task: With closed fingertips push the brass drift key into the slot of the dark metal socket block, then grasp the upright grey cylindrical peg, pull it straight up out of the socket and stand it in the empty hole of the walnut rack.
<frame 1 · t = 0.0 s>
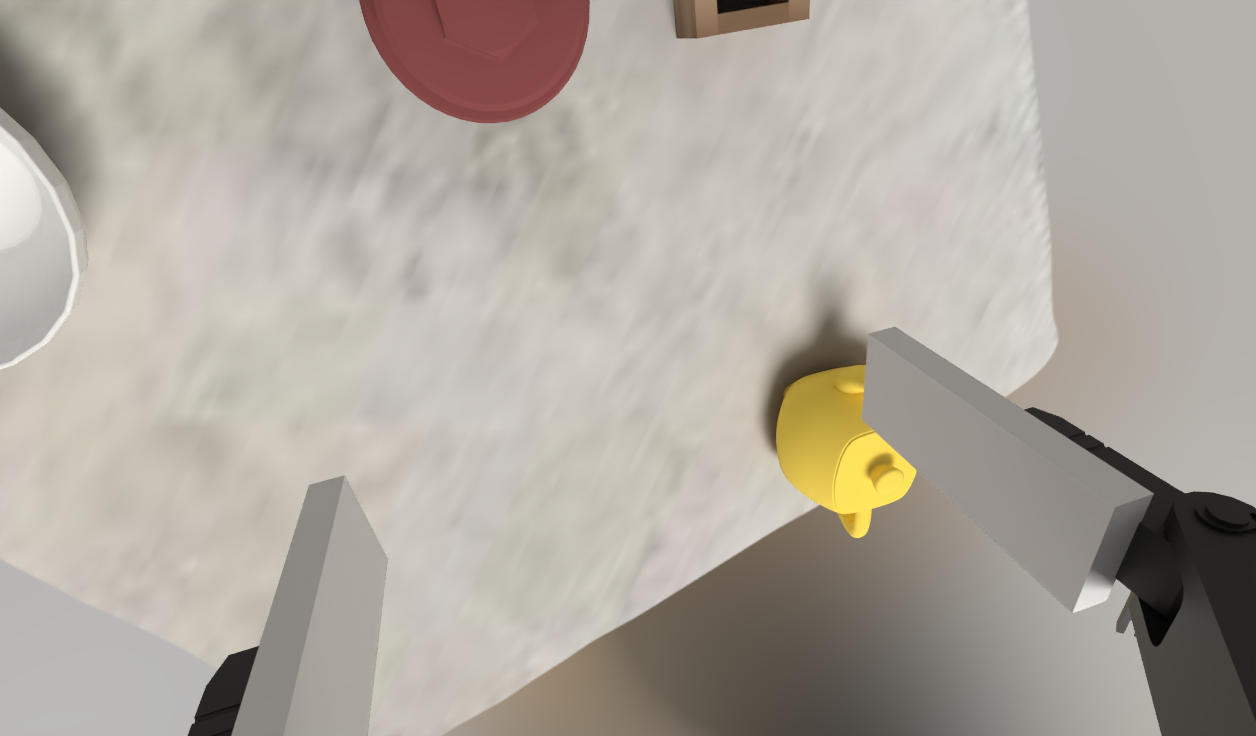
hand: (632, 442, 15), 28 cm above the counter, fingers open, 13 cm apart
teapot: (816, 402, 54), on the counter
mechanical component: (472, 9, 33), on the counter
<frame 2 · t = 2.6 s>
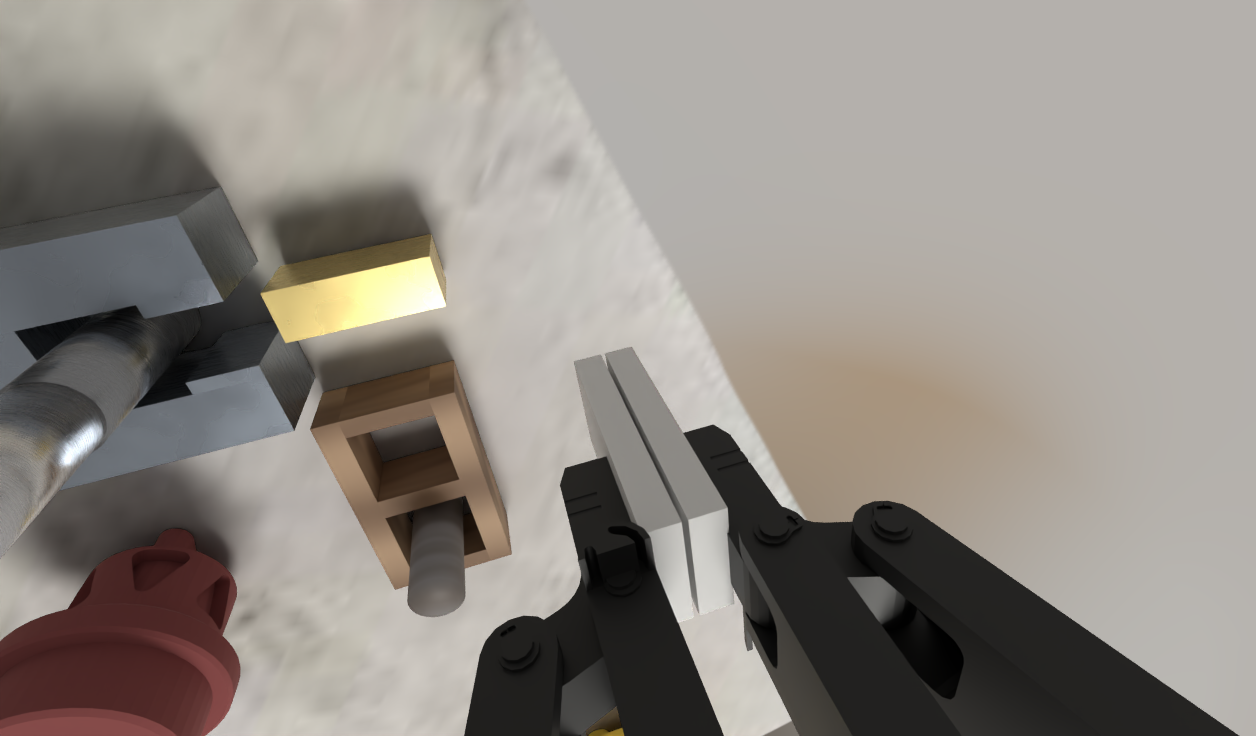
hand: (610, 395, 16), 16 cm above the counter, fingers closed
rack: (424, 460, 35), on the counter
drift key: (362, 285, 27), point 2 cm above the counter, slide at 0.0 cm
socket block: (160, 314, 28), on the counter
grey cylindrical peg: (75, 397, 21), in the socket block
mechanical component: (177, 567, 34), on the counter
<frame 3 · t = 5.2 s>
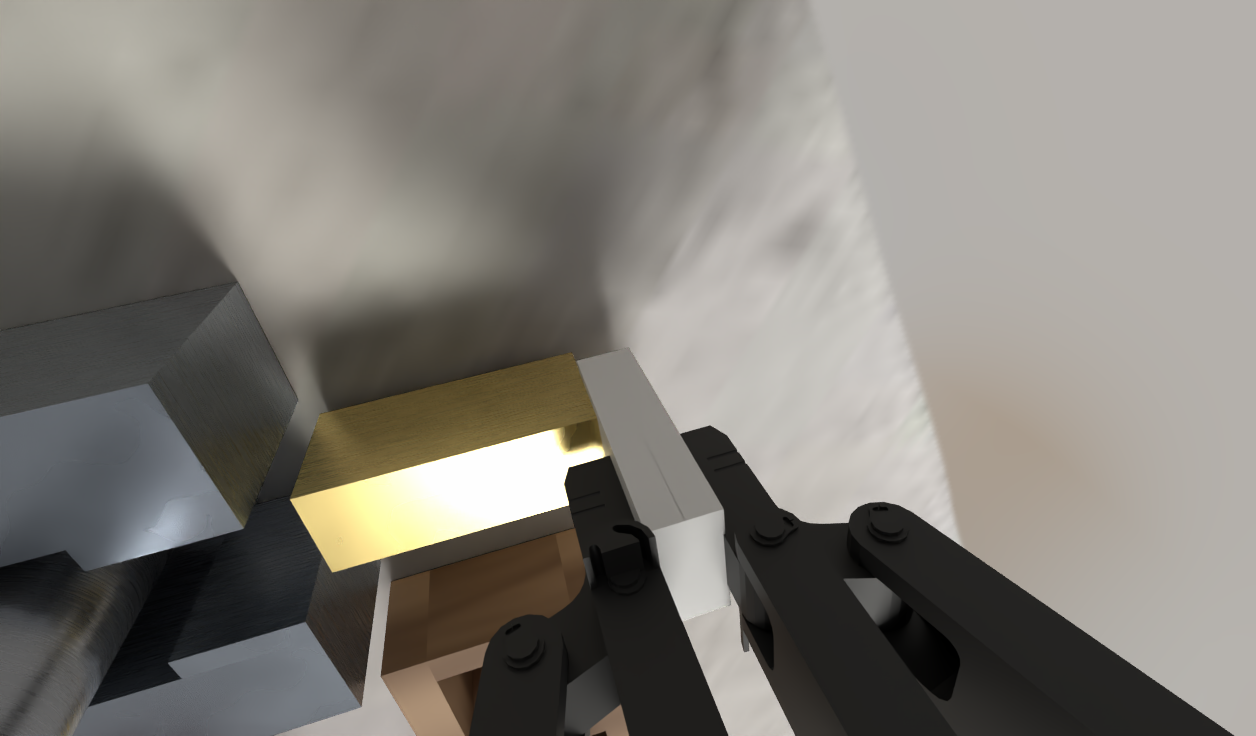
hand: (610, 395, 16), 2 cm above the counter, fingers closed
rack: (530, 654, 23), on the counter
drift key: (463, 452, 16), point 2 cm above the counter, slide at 0.5 cm, touching gripper
socket block: (129, 491, 16), on the counter
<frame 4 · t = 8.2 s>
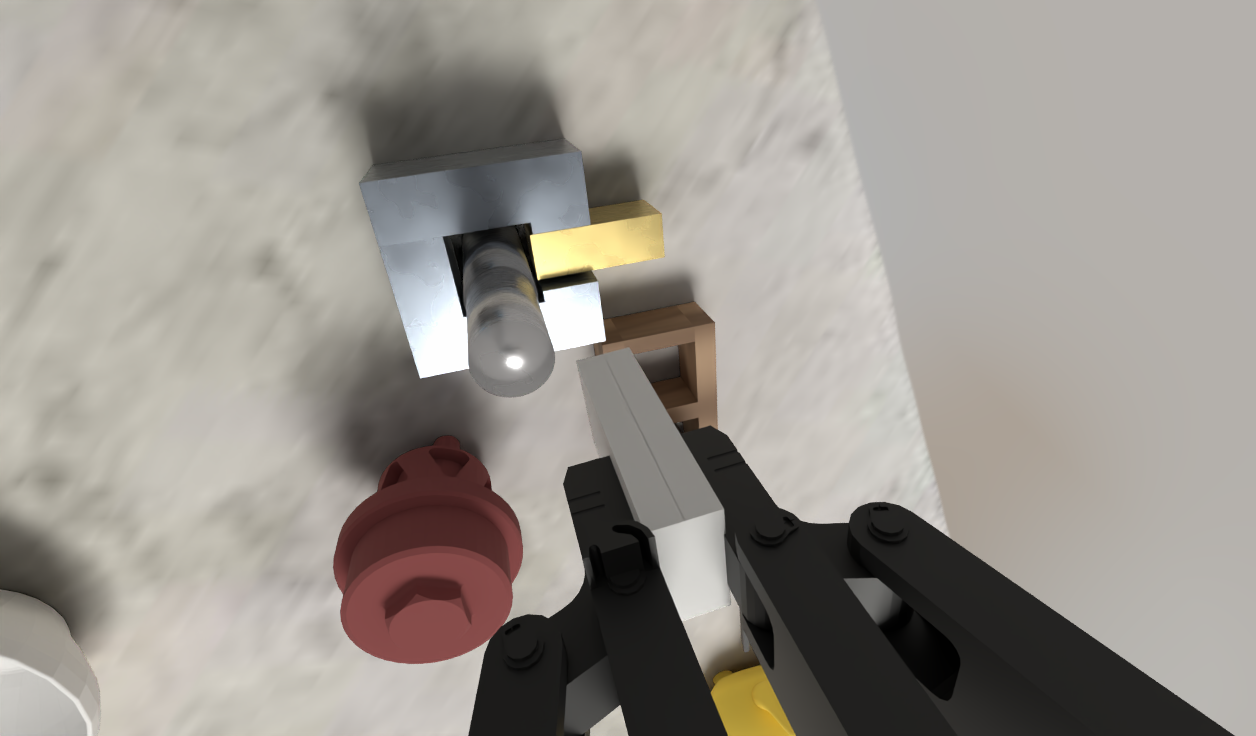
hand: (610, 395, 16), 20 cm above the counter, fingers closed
rack: (650, 390, 41), on the counter
drift key: (593, 237, 32), point 2 cm above the counter, slide at 4.0 cm
socket block: (491, 243, 33), on the counter
grey cylindrical peg: (499, 287, 27), in the socket block
teapot: (744, 681, 60), on the counter
mechanical component: (436, 472, 40), on the counter
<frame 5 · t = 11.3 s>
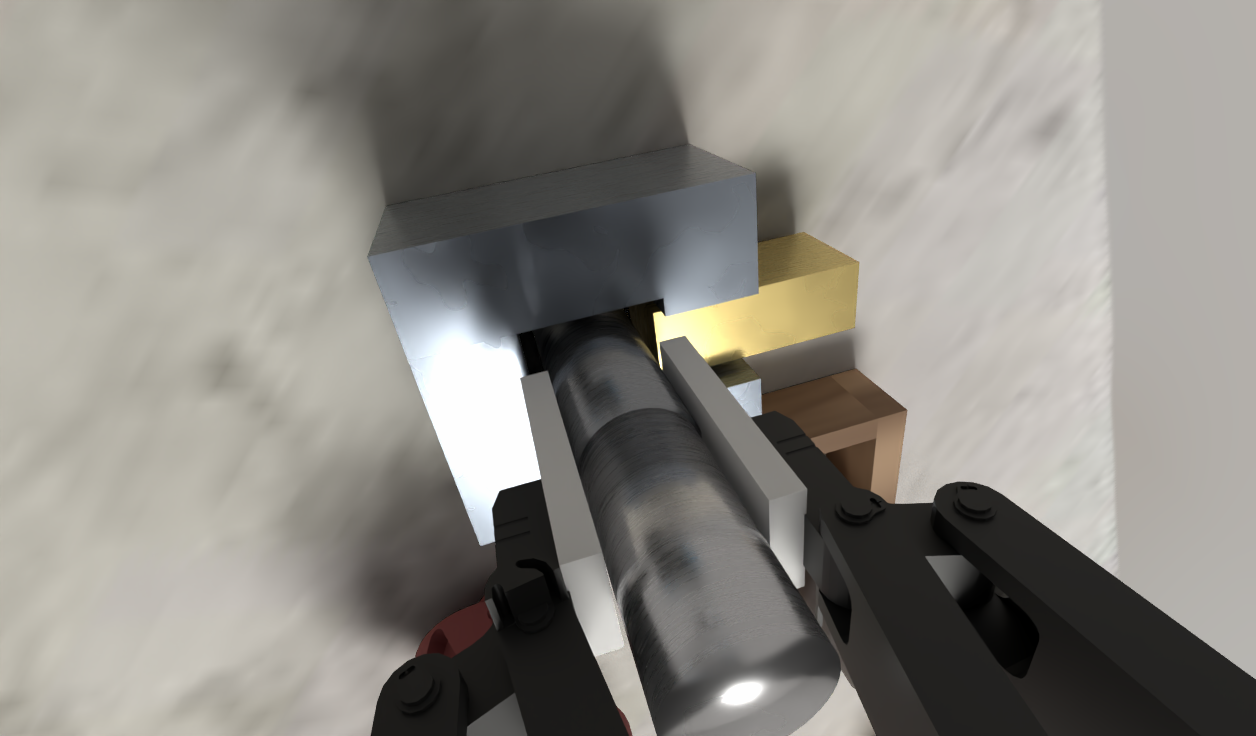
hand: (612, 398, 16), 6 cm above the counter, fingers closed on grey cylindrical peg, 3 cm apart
rack: (784, 488, 29), on the counter
drift key: (737, 300, 20), point 2 cm above the counter, slide at 4.0 cm
socket block: (573, 312, 21), on the counter
grey cylindrical peg: (625, 426, 15), in the socket block, touching gripper
mechanical component: (493, 618, 28), on the counter
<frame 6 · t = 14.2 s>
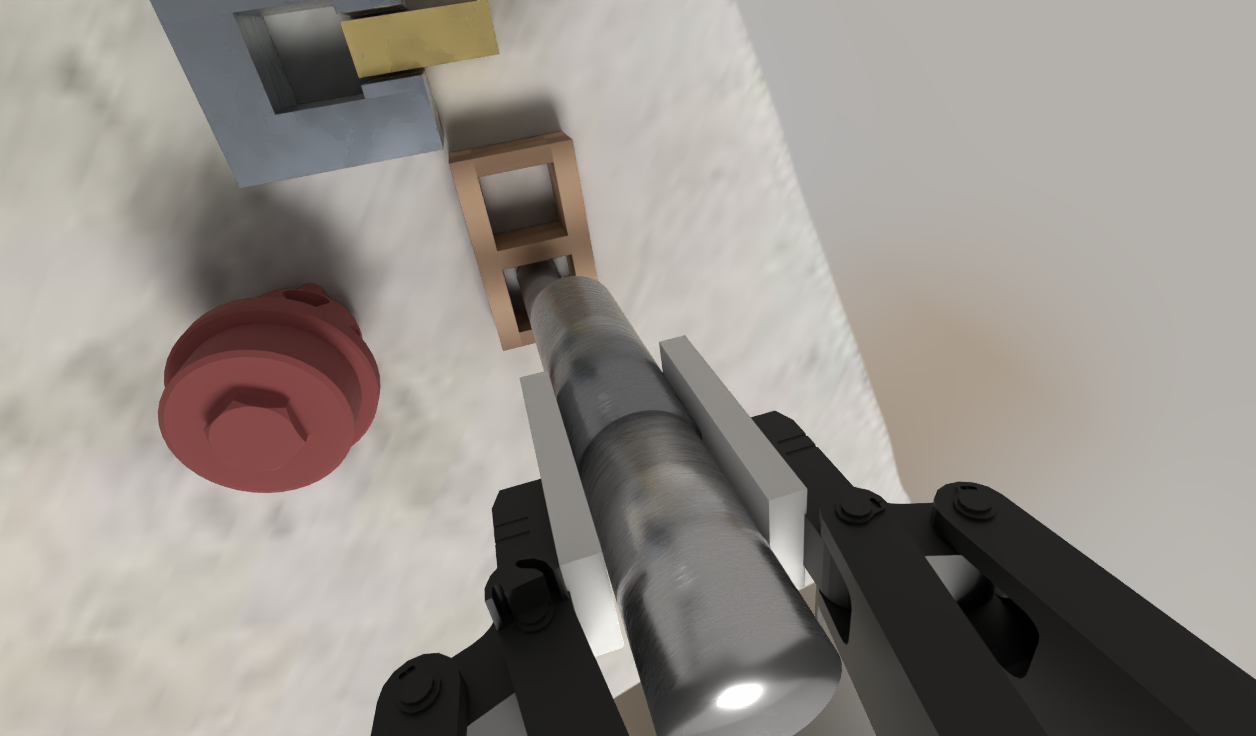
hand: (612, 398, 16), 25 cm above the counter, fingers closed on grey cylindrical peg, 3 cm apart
rack: (528, 236, 39), on the counter
drift key: (424, 38, 30), point 2 cm above the counter, slide at 4.0 cm
socket block: (321, 55, 31), on the counter
grey cylindrical peg: (625, 429, 15), point 26 cm above the counter, touching gripper
mechanical component: (307, 328, 38), on the counter
when the fingers open (8 cm above the counter, at t = 17.4 s): grey cylindrical peg drops 1 cm, resting in rack.
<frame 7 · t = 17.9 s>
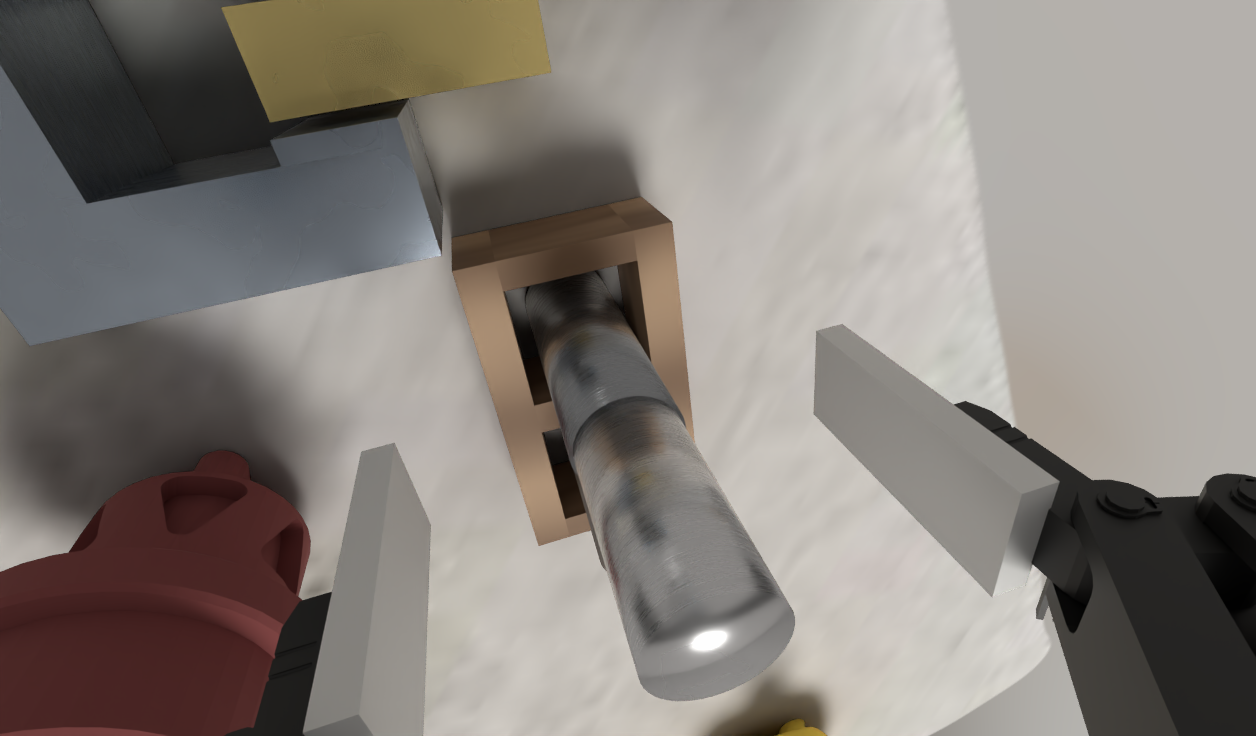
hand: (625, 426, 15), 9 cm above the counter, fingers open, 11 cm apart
rack: (579, 359, 24), on the counter
drift key: (404, 42, 16), point 2 cm above the counter, slide at 4.0 cm
socket block: (213, 73, 17), on the counter
grey cylindrical peg: (614, 411, 17), resting in rack
mechanical component: (222, 512, 24), on the counter
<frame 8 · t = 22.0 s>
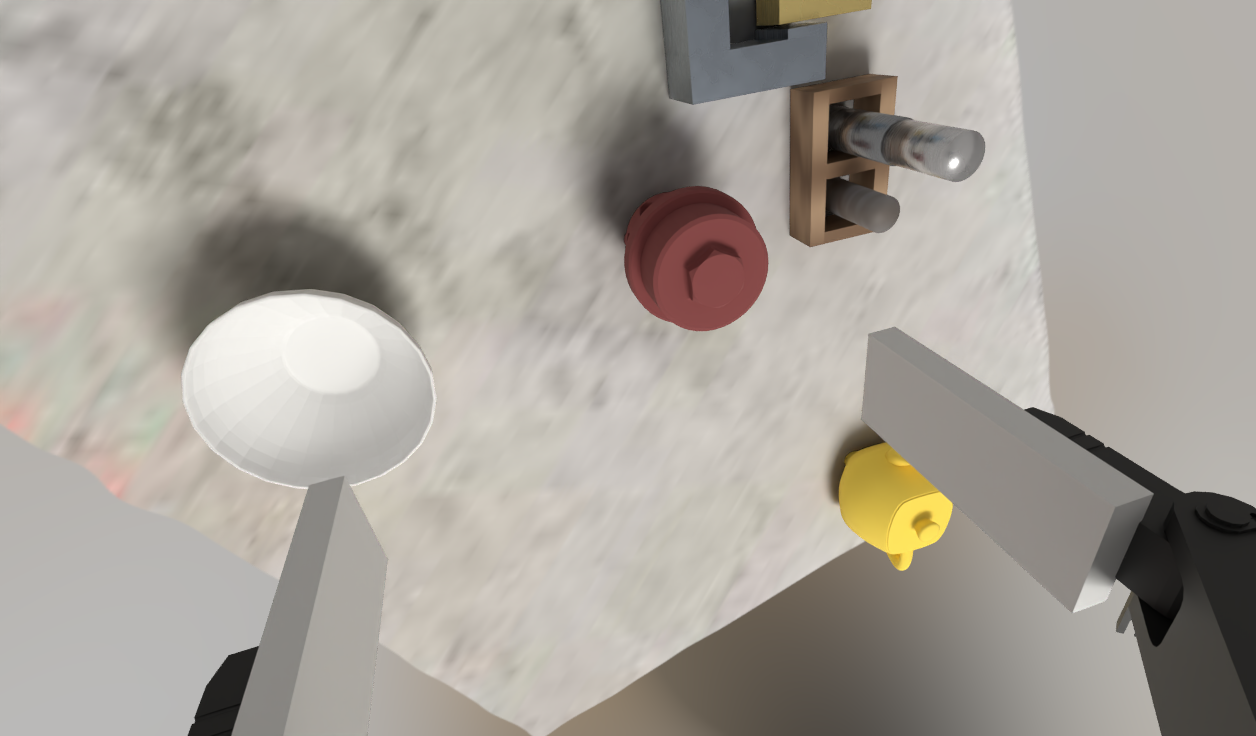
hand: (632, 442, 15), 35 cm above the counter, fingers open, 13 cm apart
rack: (827, 158, 50), on the counter
bowl: (333, 353, 47), on the counter
socket block: (727, 11, 42), on the counter
grey cylindrical peg: (886, 139, 42), resting in rack
teapot: (868, 465, 70), on the counter
mechanical component: (660, 229, 49), on the counter
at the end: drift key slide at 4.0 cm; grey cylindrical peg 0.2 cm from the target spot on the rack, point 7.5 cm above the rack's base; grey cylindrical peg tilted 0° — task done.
